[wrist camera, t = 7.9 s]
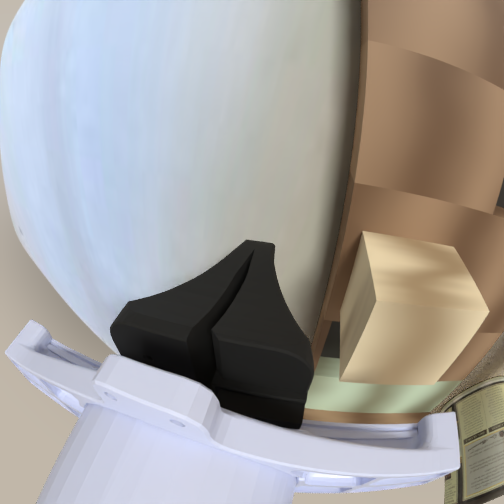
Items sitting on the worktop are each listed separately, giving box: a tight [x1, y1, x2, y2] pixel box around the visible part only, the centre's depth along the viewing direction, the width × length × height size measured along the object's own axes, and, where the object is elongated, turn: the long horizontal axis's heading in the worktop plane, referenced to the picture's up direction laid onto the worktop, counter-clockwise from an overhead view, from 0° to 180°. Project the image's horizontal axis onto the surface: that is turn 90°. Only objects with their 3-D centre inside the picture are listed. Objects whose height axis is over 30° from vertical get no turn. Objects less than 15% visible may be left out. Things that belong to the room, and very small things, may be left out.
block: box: [339, 231, 490, 385], centre depth 11 cm, size 5×5×4 cm
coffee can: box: [440, 376, 504, 504], centre depth 15 cm, size 10×10×14 cm
